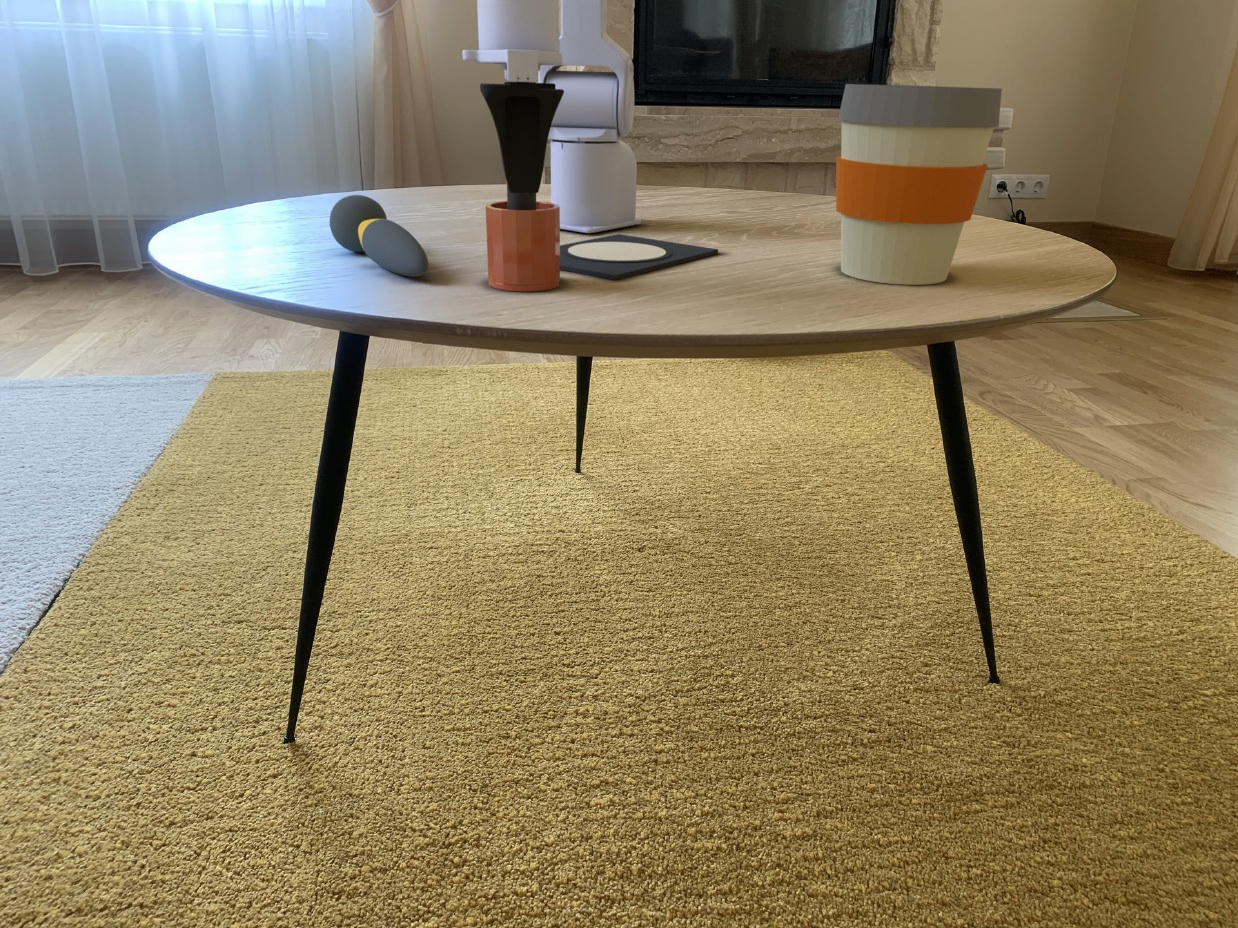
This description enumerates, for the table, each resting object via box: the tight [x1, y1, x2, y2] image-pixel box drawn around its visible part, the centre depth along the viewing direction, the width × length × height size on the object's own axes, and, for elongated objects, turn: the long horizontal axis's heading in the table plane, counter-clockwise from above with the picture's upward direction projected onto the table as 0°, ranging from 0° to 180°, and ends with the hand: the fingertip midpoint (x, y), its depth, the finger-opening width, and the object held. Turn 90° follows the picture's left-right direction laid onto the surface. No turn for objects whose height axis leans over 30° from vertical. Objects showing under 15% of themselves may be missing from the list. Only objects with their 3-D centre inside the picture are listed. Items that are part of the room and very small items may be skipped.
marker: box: [505, 180, 537, 210], centre depth 67 cm, size 2×2×9 cm
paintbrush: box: [329, 194, 429, 278], centre depth 74 cm, size 20×5×5 cm, turn 38°
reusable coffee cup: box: [835, 83, 1003, 286], centre depth 73 cm, size 13×13×15 cm
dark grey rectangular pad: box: [560, 233, 719, 281], centre depth 80 cm, size 16×12×1 cm
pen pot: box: [485, 200, 561, 293], centre depth 68 cm, size 6×6×6 cm
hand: (522, 186), depth 66 cm, fingers open, 7 cm apart
